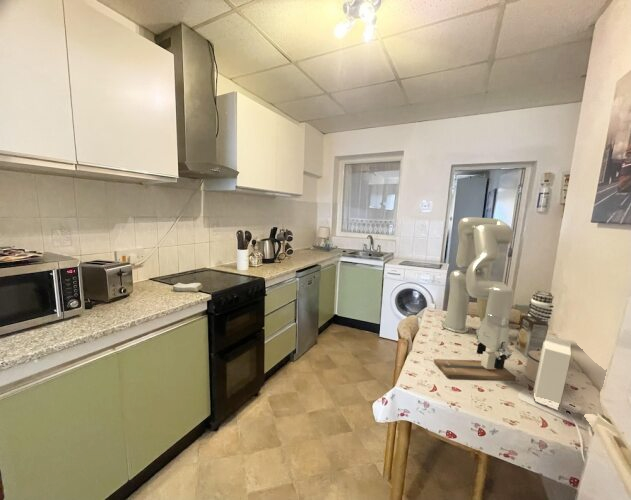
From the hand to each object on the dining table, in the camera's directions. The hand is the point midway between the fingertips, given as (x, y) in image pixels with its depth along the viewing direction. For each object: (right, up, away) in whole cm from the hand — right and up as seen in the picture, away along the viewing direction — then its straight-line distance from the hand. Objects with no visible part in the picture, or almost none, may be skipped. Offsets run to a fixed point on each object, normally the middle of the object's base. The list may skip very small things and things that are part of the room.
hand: (489, 360), depth 101 cm
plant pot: (+33, +1, +51) cm, 61 cm away
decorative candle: (+44, -3, +32) cm, 54 cm away
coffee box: (+29, -4, +17) cm, 34 cm away
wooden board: (-6, -4, 0) cm, 7 cm away
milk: (+8, -7, -15) cm, 19 cm away
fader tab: (0, -2, 0) cm, 2 cm away
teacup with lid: (+18, -6, -1) cm, 19 cm away
